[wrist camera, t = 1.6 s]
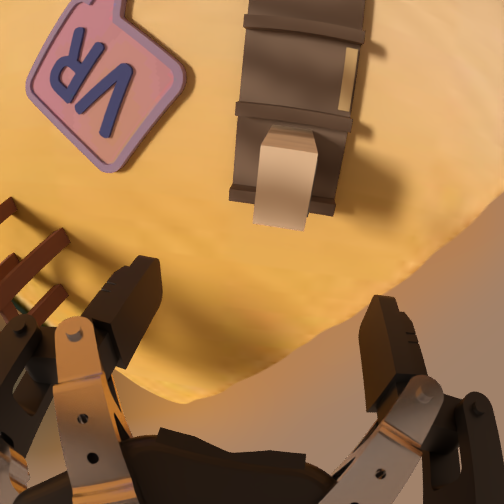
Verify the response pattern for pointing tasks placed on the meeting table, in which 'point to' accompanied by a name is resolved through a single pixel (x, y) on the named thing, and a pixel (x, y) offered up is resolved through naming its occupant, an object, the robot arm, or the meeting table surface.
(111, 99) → the icon
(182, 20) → the meeting table surface
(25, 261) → the stool
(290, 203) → the oak block
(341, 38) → the notched ledge
